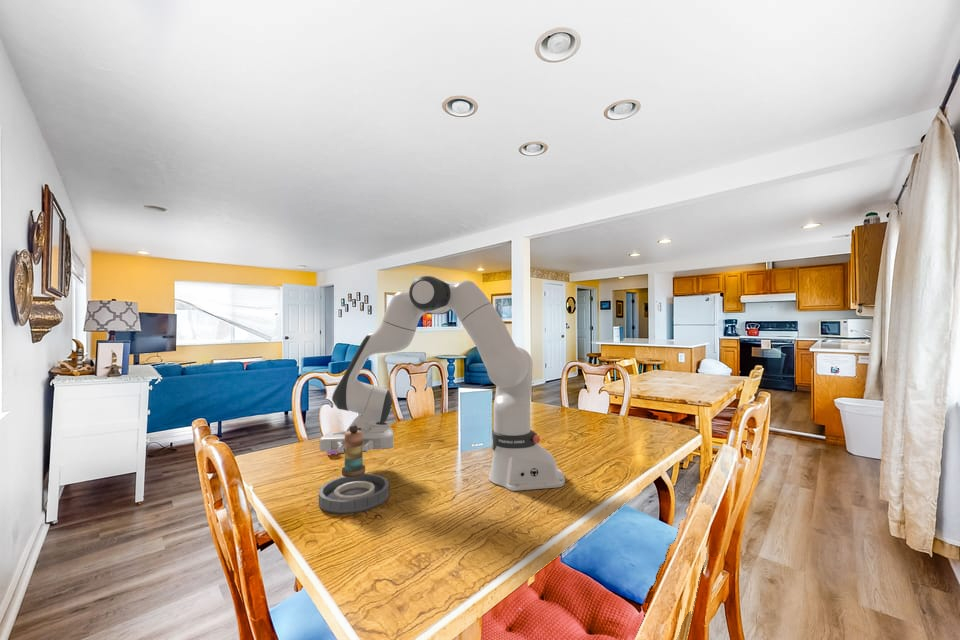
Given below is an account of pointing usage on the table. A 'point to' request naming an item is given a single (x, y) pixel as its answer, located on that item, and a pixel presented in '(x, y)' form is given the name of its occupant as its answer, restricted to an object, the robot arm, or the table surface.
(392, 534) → the table surface
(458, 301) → the robot arm
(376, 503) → the tray
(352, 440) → the bead stack
